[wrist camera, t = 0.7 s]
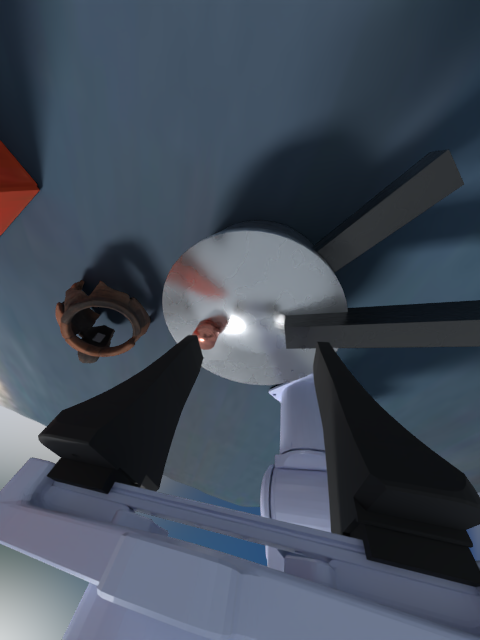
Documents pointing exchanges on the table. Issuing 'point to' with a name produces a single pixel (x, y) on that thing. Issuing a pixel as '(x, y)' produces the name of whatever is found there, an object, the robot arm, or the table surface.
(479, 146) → the table surface
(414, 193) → the cooker pot
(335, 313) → the cooker lid
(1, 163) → the file binder
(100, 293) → the pottery mug
